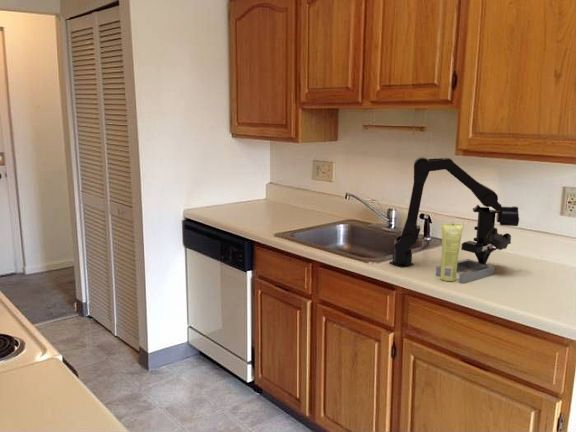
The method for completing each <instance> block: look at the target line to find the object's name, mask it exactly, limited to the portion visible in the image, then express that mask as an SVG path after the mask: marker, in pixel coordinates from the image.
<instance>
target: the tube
mask: <svg viewBox="0 0 576 432" xmlns="http://www.w3.org/2000/svg"><path fill="white" fill-rule="evenodd" d="M463 231H464V223H462V222H461V223H460V222H459V223H456V222H455V223H453V222H449V223H448V222H442V223H441V261H440V266H441V276H439V277H440V280H442V281H445V282H454V281H456V277H457V272H458V271H457V262H458V261H459V260H458V259H459V254H460V253H459V252H460V249H461V248H460V247H461V241H462V240H461V239H462V236H463V235H462V234H463ZM456 271H457V272H456Z"/></svg>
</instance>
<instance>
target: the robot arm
mask: <svg viewBox="0 0 576 432" xmlns="http://www.w3.org/2000/svg"><path fill="white" fill-rule="evenodd" d="M441 170H442V171H444V170H445V171H447V172H448V173H449V174H451V175H452V176H453V177H454V178H456V179H457V180H458V181H459V182H461V184H463V185H464V186H465V187H466V188H468V189H469V190H470V191H471V193H472V194H473V195H474V196H475V198H477V200H479V202H480V203H481V204H482V206H480V205H479V204H476V206H475V207H473V208H472V211H473V212H474V213H477V224H476V226H474V231H476V235H475V236H476V237H474V238H473V241H472V240H467V241H464V242H463V243H461V246H460V247H461V248H460V249H461V250H462V251H465V252H469V253H473V254H474V255H475V256H476V260H477V261H478V262H481V263H485V264H487V262H488V260H489V258H490V255H491V253H493V252H494V251H497V250H498V251H501V250H505V249H507V247H508V245H510V244H512V242H511V240H512V236H511V234H510V233H503V234H502V233H498V228H497V227H495V225H496V224H495V223H498V224H499V225H500V226H504V227H505V226H506V227H518V226H519V223H520V216H519V215H520V214H519V207H518V206H502V204H501V203H500V202H499V196H498V194H497V193H496V191H494V190H493V189H491V188H489V187H488V186H487V185H484V184H482V183H481V182H479V181H478V180H476V179H475V178H474V177H472V176H471V175H470V174H469V173H468V172H467V171H465V170H464V169H463V168H462V167H460V166H459V164H457V163H456V162H454V161H453V160H452V158H450V157H447V156H446V157H440V158H427V157H425V156H419V157H418V158H416V159H415V160H414V162H413V183H412V185H413V186H412V189H411V196H410V201H409V205H408V206H409V207H408V210H407V215H406V219H405V222H404V223H403V227H402V229H401V232H400V234H399V235H398V236H397V237H395V239H394V245H393V247H392V260H391V261H389V262H388V263H389V264H390V265H394V266H396V267H397V266H398V267H400V268H404V267H409V266H412V265H415V263H414V262H413V261H412V260H413V253H412V250H413V249H412V248H411V247H412V246H414V245H416V243H417V241H419V240H420V239H419V234H420V232H421V225H419V224H418V219H419V218H418V215H419V212H420V206H421V201H422V196H423V191H424V187H425V184H426V181H427V178H428V177H429V173H430V172H435V171H441ZM490 208H492V209H490Z"/></svg>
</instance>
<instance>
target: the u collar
mask: <svg viewBox="0 0 576 432" xmlns="http://www.w3.org/2000/svg"><path fill="white" fill-rule="evenodd" d="M495 267H496V266H495V265H491V264H488V263H486V264H485V263H481V262H478V260H474V259H470V258H466V259H465V258H464V259H462V260H458V262H457V271H456V273H457V272H459V271H464V270H467V269H469V271H464V272H461V273H459V274H458V275H459V277H458V283H460V284H465V283H469V282H472V281H473V282H474V281H477V280H479V279H480V280H481V279H483V278H486V277H490V276H494V275H495ZM435 275H436V276H438V277H440V276H441V265H438V266H436V271H435Z"/></svg>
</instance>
